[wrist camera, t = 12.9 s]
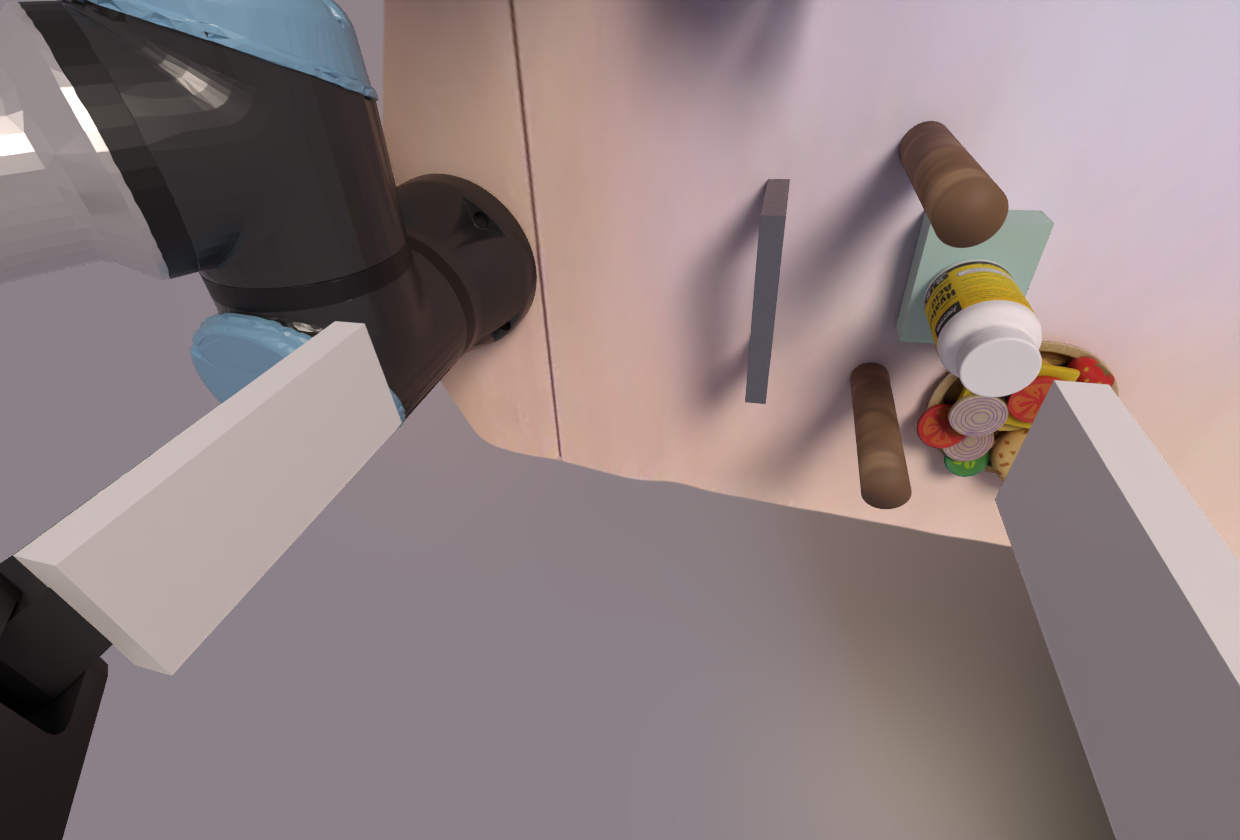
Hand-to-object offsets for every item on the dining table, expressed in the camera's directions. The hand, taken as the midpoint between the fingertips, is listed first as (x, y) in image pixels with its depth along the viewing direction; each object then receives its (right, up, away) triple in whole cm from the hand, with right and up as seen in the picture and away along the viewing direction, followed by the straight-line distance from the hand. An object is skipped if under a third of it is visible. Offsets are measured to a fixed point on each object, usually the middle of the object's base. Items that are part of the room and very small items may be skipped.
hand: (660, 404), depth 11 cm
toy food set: (+31, +1, +35) cm, 47 cm away
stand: (+24, +10, +29) cm, 39 cm away
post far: (+20, +3, +36) cm, 42 cm away
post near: (+19, +18, +25) cm, 36 cm away
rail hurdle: (+11, +11, +33) cm, 36 cm away
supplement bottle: (+23, +9, +28) cm, 37 cm away
